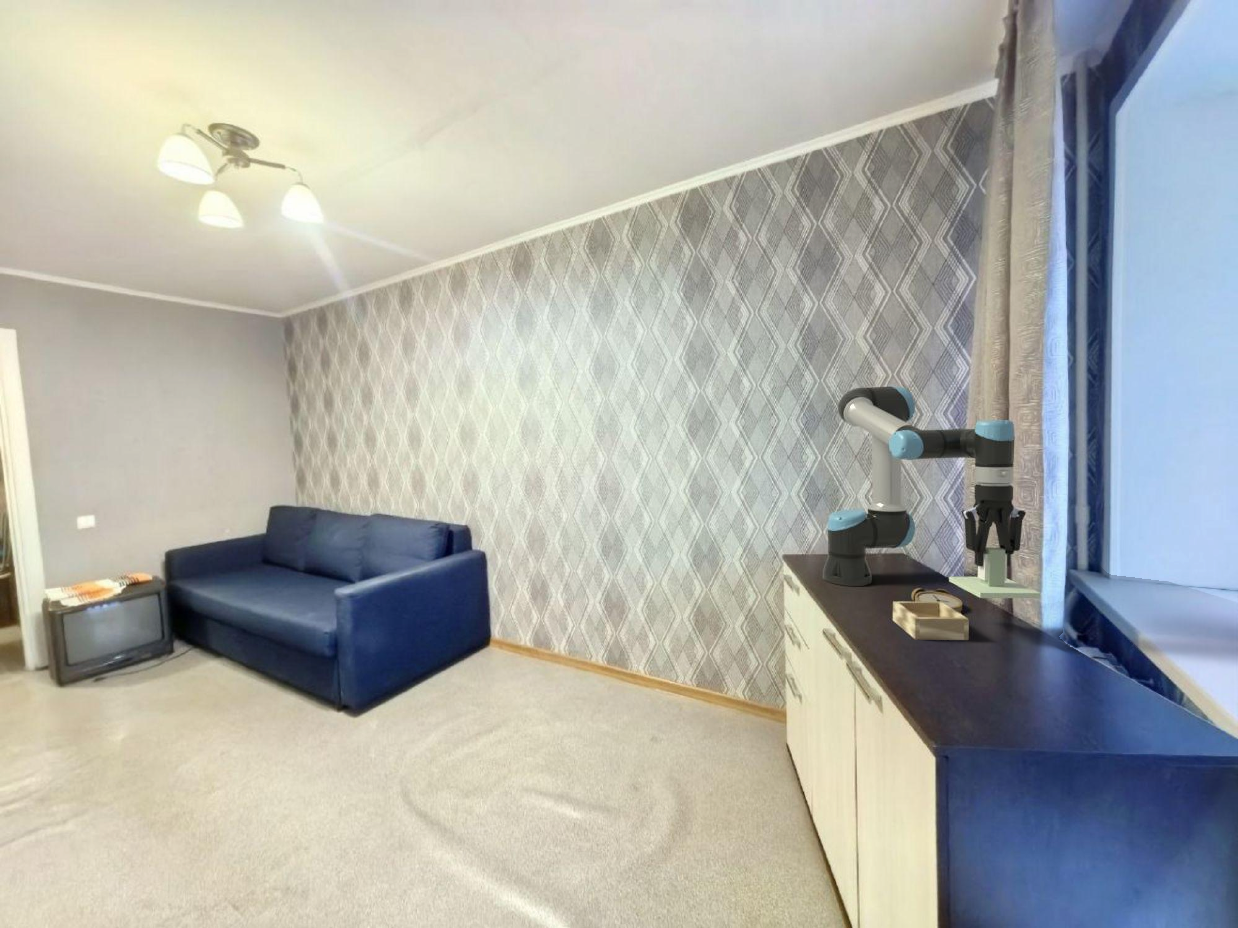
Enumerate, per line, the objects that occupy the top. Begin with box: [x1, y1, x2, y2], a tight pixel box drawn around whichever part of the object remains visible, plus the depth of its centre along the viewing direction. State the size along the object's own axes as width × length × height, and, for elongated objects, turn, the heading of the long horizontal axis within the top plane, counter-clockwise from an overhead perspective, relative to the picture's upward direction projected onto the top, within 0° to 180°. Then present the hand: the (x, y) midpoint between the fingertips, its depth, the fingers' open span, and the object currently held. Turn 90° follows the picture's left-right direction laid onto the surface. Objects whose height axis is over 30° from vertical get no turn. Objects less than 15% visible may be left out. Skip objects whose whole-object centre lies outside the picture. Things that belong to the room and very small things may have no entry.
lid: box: [948, 546, 1041, 599], centre depth 122 cm, size 13×13×10 cm
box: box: [892, 601, 970, 641], centre depth 125 cm, size 12×12×6 cm
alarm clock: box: [911, 587, 963, 615], centre depth 141 cm, size 11×5×15 cm
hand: (992, 578), depth 122 cm, fingers closed on lid, 3 cm apart
